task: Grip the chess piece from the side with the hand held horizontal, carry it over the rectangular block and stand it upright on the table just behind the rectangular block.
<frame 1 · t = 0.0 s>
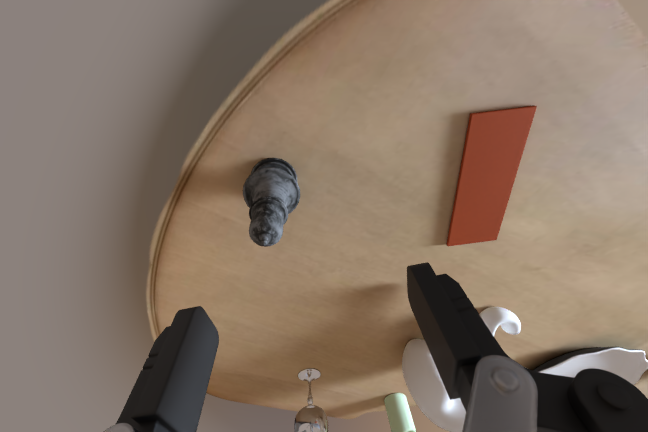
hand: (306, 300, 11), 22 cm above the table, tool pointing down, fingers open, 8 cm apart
rectangular block: (484, 184, 35), on the table
chess piece: (274, 179, 32), on the table
plate: (567, 375, 65), on the table
stomach: (433, 331, 51), on the table
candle: (394, 397, 63), on the table
wineglass: (309, 373, 55), on the table
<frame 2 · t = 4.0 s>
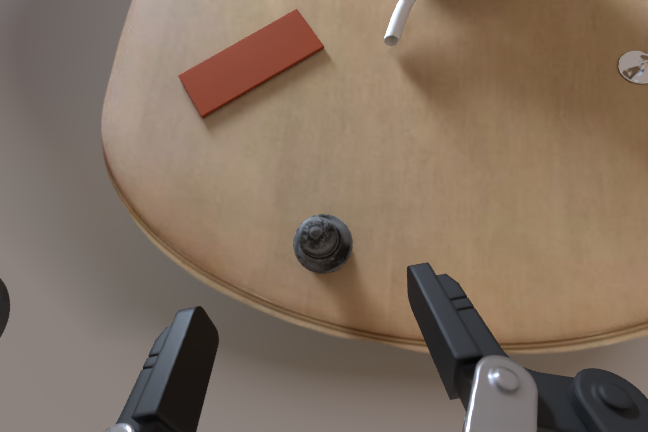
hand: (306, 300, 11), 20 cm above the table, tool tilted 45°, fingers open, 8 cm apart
rectangular block: (251, 63, 36), on the table
chess piece: (325, 246, 31), on the table
wineglass: (636, 68, 33), on the table
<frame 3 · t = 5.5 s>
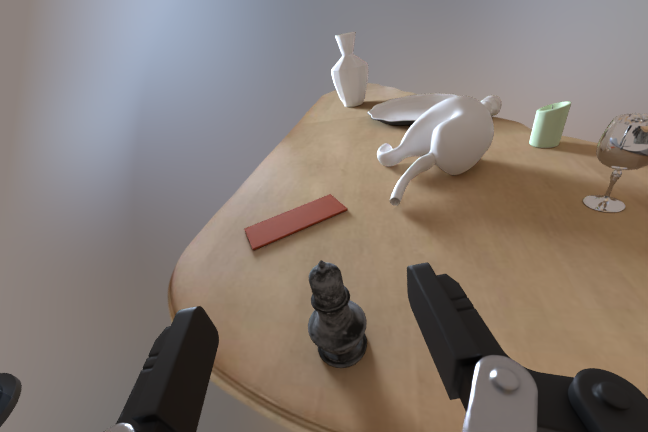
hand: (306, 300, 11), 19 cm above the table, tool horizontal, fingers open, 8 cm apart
rectangular block: (295, 220, 51), on the table
chess piece: (342, 343, 30), on the table
plate: (414, 113, 91), on the table
stomach: (433, 172, 57), on the table
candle: (543, 144, 58), on the table
wineglass: (602, 204, 40), on the table
garlic bulb: (484, 118, 76), on the table
vase: (353, 104, 116), on the table
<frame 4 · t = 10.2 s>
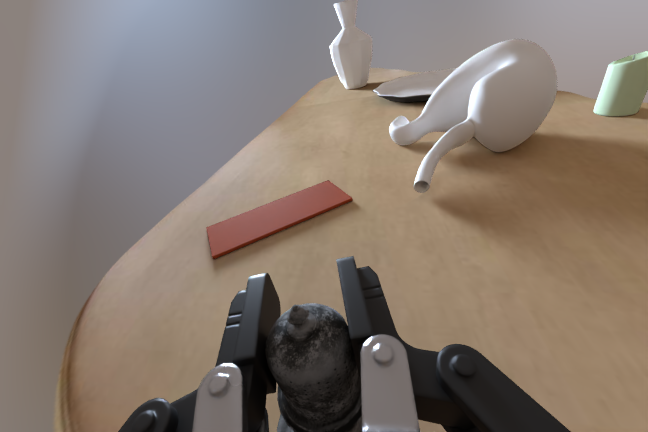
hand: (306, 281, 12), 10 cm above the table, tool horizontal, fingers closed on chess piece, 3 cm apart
rectangular block: (279, 215, 36), on the table
plate: (429, 91, 76), on the table
stomach: (468, 150, 42), on the table
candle: (614, 112, 43), on the table
vase: (355, 86, 102), on the table
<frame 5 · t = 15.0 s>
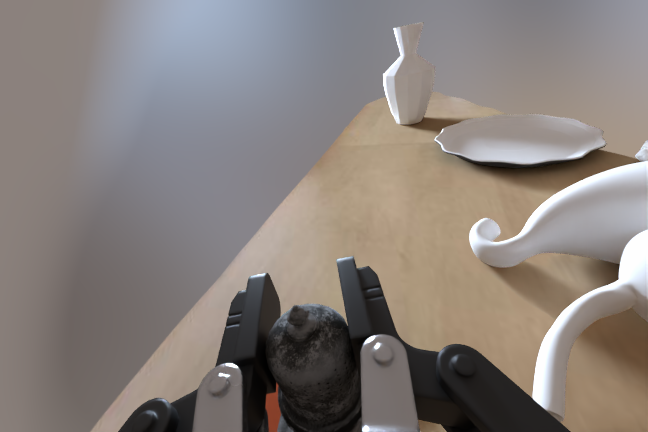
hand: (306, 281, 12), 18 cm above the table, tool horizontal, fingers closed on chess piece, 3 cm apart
rectangular block: (309, 398, 25), on the table
plate: (508, 145, 60), on the table
stomach: (602, 303, 27), on the table
vase: (408, 121, 87), on the table
when the fingers open (10 cm above the table, at t = 20.2 s): chess piece stays where it is, on the table.
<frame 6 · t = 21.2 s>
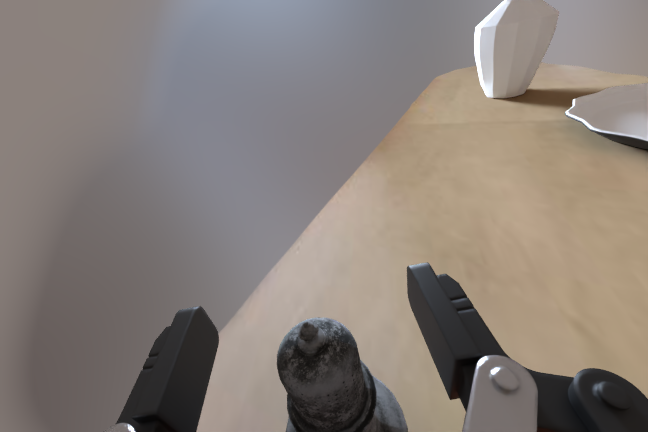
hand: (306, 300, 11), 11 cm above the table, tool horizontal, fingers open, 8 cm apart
vase: (503, 94, 64), on the table
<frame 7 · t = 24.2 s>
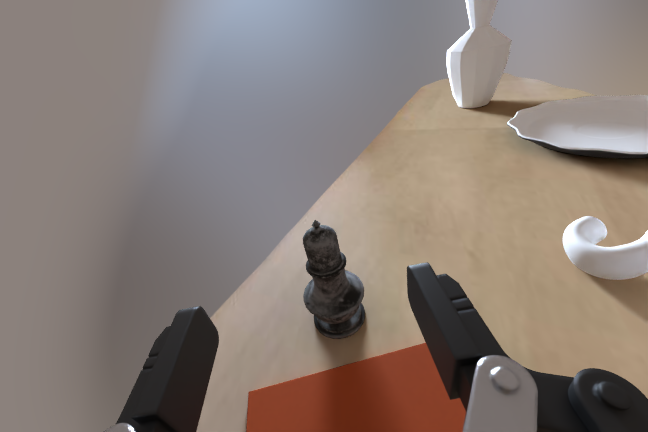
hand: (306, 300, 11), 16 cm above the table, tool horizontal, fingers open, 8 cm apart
rectangular block: (363, 410, 21), on the table
chess piece: (339, 316, 29), on the table
plate: (604, 132, 50), on the table
vase: (472, 104, 78), on the table
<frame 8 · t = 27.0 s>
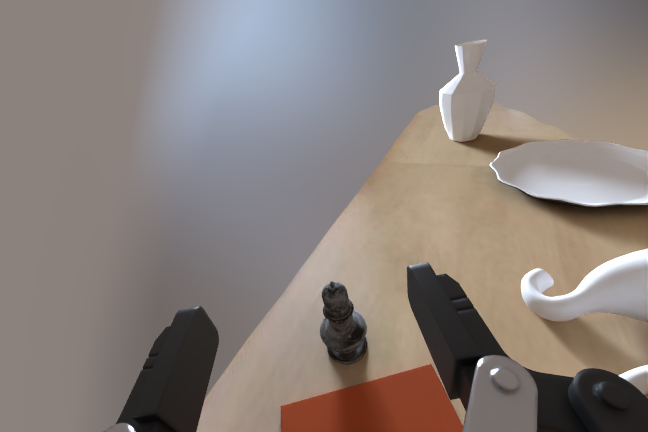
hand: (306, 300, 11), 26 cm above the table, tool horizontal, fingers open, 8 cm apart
rectangular block: (366, 420, 29), on the table
chess piece: (347, 345, 37), on the table
plate: (571, 177, 58), on the table
vase: (462, 137, 86), on the table
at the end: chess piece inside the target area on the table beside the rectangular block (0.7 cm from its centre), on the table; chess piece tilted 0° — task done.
